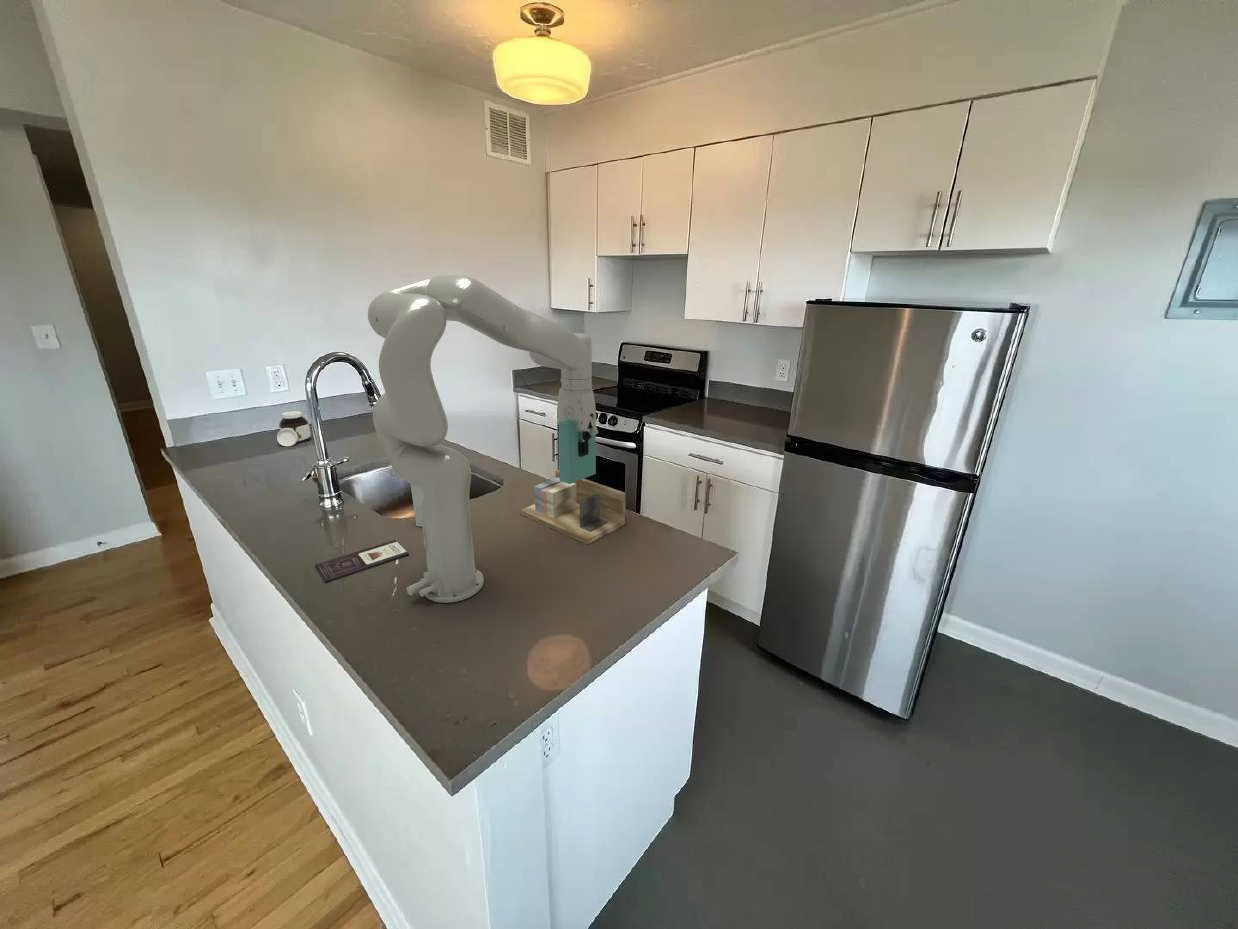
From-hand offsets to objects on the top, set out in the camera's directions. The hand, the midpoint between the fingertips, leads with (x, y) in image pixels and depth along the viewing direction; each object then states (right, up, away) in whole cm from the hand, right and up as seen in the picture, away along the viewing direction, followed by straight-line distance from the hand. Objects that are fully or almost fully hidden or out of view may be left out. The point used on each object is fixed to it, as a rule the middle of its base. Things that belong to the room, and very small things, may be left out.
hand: (577, 452), depth 131 cm
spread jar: (-119, +5, +69) cm, 137 cm away
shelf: (-2, -18, +8) cm, 20 cm away
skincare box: (-40, -19, +6) cm, 45 cm away
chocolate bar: (-49, -26, -14) cm, 58 cm away
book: (0, -6, +2) cm, 7 cm away
